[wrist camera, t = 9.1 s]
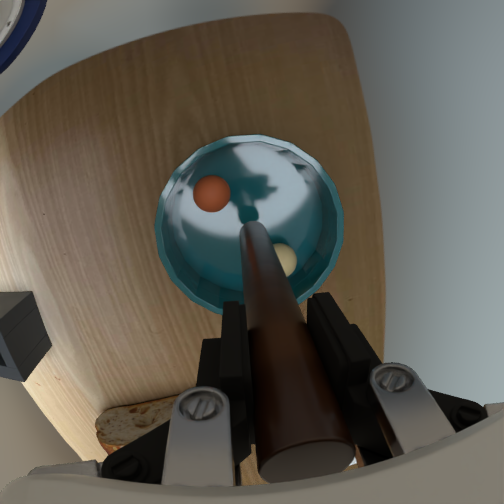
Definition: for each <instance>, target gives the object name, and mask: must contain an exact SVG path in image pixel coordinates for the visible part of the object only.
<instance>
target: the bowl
mask: <svg viewBox="0 0 504 504" xmlns="http://www.w3.org/2000/svg"><path fill="white" fill-rule="evenodd" d="M208 175H216V176H219V177H221V178H223V179H224V180H225V181H226V182H227V184H228V185H229V188H230V200H229V202H228V204H227V205H226V206H225V207H224V208H223V209H222V210H220V211H218V212H205V211H203V210H201V209H200V208H199V207H198V206H197V205H196V203H195V202H194V199H193V189H194V186H195V185H196V183H197V182H198V181H199V180H200V179H201V178H203V177H205V176H208ZM249 221H257V222H260V223H262V224H263V225H264V226H265V228H266V230H267V232H268V235H269V237H270V239H271V242H272V244H276V243H283V244H286V245H288V246H290V247H291V248H292V249H293V250H294V252H295V254H296V257H297V265H296V268H295V270H294V271H293V272H292V274H290V275H289V276H287V279H288V281H289V284H290V286H291V288H292V291H293V293H294V295H295V298H296V300H297V303H298V305H299V304H300V303H302V302H303V301H304V300H305V299H307V298H308V297H309V296H311V295H312V294H313V293H315V292H316V291H317V290H318V289H319V288H320V286H321V285H322V284H323V282H324V281H325V280H326V278H327V277H328V275H329V274H330V273H331V271H332V270H333V268H334V267H335V264H336V261H337V258H338V255H339V253H340V250H341V247H342V244H343V233H344V212H343V208H342V205H341V202H340V199H339V195H338V192H337V189H336V186H335V184H334V182H333V181H332V180H331V178H330V177H329V175H328V174H327V173H326V171H325V170H324V169H323V167H322V166H321V165H320V163H319V162H318V161H317V160H316V159H315V158H313V157H312V156H310V155H309V154H308V153H306V152H305V151H303V150H302V149H300V148H299V147H297V146H296V145H294V144H293V143H291V142H288V141H284V140H281V139H277V138H273V137H270V136H266V135H262V134H253V135H237V136H229V137H228V136H227V137H225V138H223V139H220V140H218V141H215V142H213V143H210V144H208V145H206V146H203V147H201V148H199V149H197V150H196V151H195V152H194V153H193V154H192V155H191V156H189V157H188V158H187V159H186V160H185V161H184V162H183V163H182V164H181V165H179V166H178V167H177V168H176V169H175V170H174V172H173V174H172V175H171V177H170V179H169V181H168V182H167V184H166V186H165V188H164V190H163V191H162V193H161V195H160V197H159V202H158V208H157V213H156V219H155V225H154V226H155V227H154V228H155V235H156V242H157V248H158V254H159V257H160V259H161V261H162V263H163V265H164V267H165V269H166V271H167V273H168V275H169V277H170V279H171V280H172V282H173V283H174V284H175V285H176V286H177V287H178V288H179V289H180V290H181V291H182V292H183V293H184V294H185V295H186V296H187V297H188V298H189V299H190V300H192V301H193V302H195V303H197V304H199V305H201V306H202V307H204V308H206V309H208V310H210V311H212V312H214V313H216V314H221V315H223V302H226V301H239V305H240V304H244V294H243V280H242V265H241V250H240V235H239V234H240V229H241V228H242V226H243V225H244V224H245V223H247V222H249Z"/></svg>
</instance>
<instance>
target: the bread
mask: <svg viewBox="0 0 504 504" xmlns="http://www.w3.org/2000/svg"><path fill="white" fill-rule="evenodd" d="M178 396H179V395H177V396H173V397H169V398H165V399H160V400H155V401H150V402H146V403H141V404H137V405H132V406H125V407H117V408H112V409H110V410H107V411H105V412H104V413H102V414H101V415H100V416H99V417H98V418H97V419H96V422H95V427H96V430H97V433H96V436H97V438H98V441H99V443H100V444H101V446H102V447H103V449H104V450H105V451H106V452H107V454H108V455H110V454H111V453H113V452H114V451H116V450H118V449H120V448H121V447H123V446H125V445H127V444H129V443H130V442H132V441H134V440H136V439H137V438H139V437H141V436H143V435H144V434H146V433H148V432H150V431H151V430H153V429H155V428H156V427H158V426H160V425H161V424H163V423H164V422H166V421H168V420H169V419H171V414H172V408H173V404H174V401H175V399H176V398H177V397H178Z"/></svg>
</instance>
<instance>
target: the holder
mask: <svg viewBox="0 0 504 504" xmlns="http://www.w3.org/2000/svg"><path fill="white" fill-rule="evenodd" d="M51 347H52V345H51V342H50V340H49V337H48V335H47V332H46V330H45V327H44V324H43V322H42V319H41V316H40V313H39V311H38V308H37V305H36V302H35V299H34V296H33V293H32V292H0V377H3V378H8V379H12V380H17V381H21V382H25V381H26V380H27V378H28V377H29V375H30V374H31V373H32V371H33V370H34V369H35V367H36V366H37V365H38V363H39V362H40V361H41V359H42V358H43V357H44V356H45V354H46V353H47V352H48V350H49V349H50V348H51Z"/></svg>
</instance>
